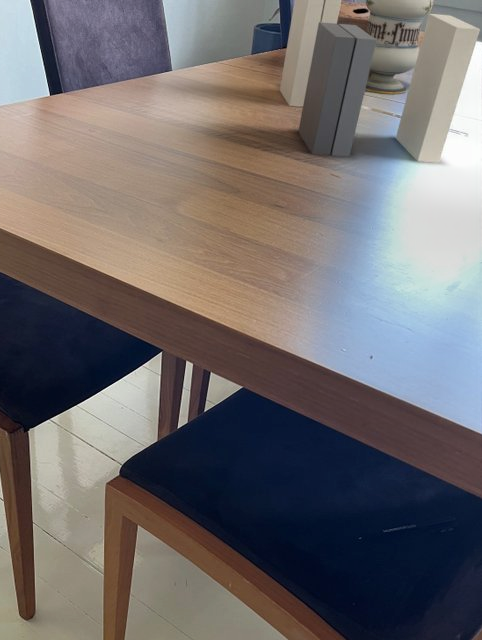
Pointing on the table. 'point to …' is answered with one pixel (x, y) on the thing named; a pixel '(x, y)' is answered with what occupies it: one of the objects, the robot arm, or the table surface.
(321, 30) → the grey books
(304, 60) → the white books
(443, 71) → the white book
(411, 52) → the apothecary jar
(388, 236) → the table surface
